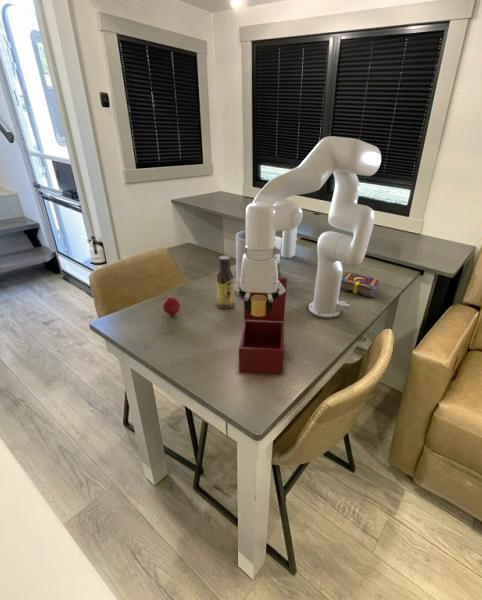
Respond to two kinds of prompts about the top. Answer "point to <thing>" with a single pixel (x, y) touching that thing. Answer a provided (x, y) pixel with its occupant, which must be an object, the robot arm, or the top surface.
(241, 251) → the cylinder vase
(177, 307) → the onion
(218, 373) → the top surface
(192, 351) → the top surface
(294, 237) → the paper towel roll
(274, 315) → the lid
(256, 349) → the red bin
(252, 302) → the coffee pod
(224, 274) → the sauce bottle
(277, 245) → the milk carton
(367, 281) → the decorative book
